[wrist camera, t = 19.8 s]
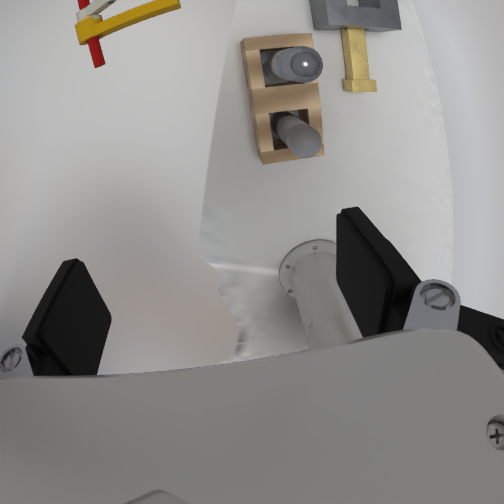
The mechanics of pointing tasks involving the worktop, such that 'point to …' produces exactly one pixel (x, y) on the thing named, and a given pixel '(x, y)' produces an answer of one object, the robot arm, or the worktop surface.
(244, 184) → the worktop surface
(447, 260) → the worktop surface
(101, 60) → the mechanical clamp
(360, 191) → the worktop surface
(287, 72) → the brushed metal cylinder
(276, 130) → the rack
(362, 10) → the socket block
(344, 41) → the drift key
